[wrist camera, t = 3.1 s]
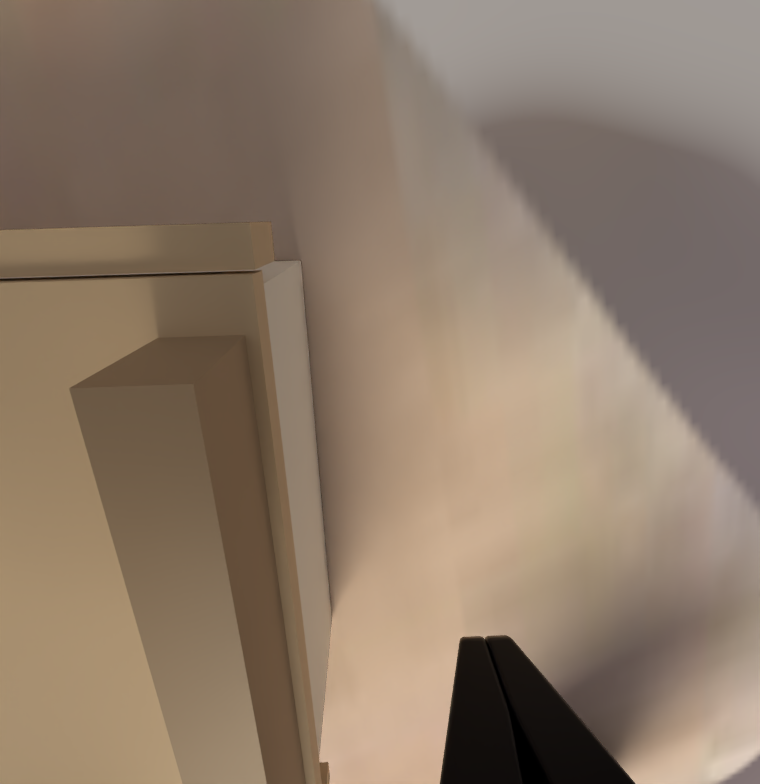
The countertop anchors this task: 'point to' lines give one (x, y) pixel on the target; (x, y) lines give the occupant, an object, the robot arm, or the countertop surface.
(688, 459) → the countertop surface
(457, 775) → the robot arm
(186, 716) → the lid
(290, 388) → the mailer box
